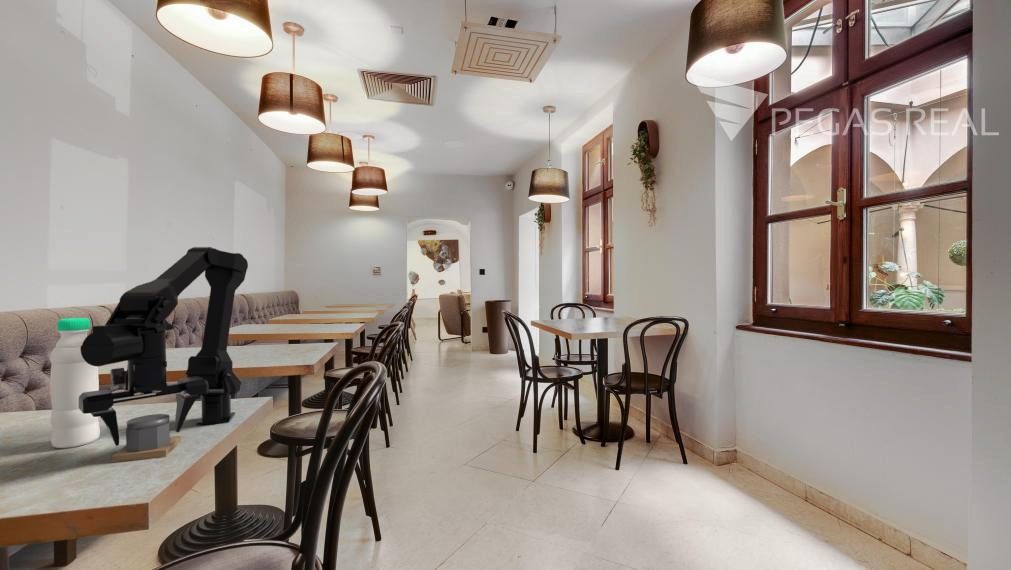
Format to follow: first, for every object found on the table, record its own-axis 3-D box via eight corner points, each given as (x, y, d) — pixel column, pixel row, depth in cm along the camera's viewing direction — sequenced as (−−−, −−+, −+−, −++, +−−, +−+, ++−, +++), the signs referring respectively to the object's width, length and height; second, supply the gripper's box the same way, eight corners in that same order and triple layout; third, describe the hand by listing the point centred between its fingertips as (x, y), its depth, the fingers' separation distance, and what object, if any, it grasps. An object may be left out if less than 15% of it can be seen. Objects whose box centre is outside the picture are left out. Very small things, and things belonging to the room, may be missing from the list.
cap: (125, 454, 82) (125, 426, 82) (128, 444, 87) (127, 418, 87) (169, 446, 86) (169, 420, 85) (169, 437, 91) (169, 412, 91)
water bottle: (70, 450, 87) (67, 320, 87) (41, 447, 88) (39, 319, 88) (108, 437, 94) (106, 317, 94) (81, 435, 95) (79, 316, 95)
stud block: (132, 446, 89) (132, 423, 89) (180, 441, 91) (180, 418, 91) (112, 462, 81) (112, 436, 81) (166, 456, 84) (165, 431, 84)
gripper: (191, 346, 98) (192, 418, 98) (73, 358, 84) (74, 442, 84) (209, 351, 91) (210, 429, 91) (82, 365, 77) (84, 457, 77)
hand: (148, 438), depth 86 cm, fingers open, 9 cm apart
